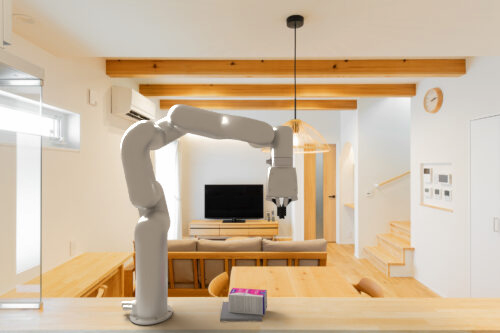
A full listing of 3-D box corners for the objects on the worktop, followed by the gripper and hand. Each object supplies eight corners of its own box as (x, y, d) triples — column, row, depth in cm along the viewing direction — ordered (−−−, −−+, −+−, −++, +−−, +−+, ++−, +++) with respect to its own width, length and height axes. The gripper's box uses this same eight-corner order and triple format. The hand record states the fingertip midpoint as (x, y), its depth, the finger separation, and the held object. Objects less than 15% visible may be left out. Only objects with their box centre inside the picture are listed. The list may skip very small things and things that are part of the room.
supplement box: (264, 296, 94) (227, 294, 96) (265, 315, 94) (228, 313, 96) (266, 288, 100) (232, 287, 102) (267, 307, 100) (232, 305, 102)
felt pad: (220, 321, 92) (220, 318, 92) (222, 304, 104) (222, 301, 104) (262, 321, 92) (262, 318, 93) (259, 303, 104) (260, 301, 104)
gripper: (259, 162, 100) (259, 220, 99) (306, 163, 100) (306, 220, 100) (258, 163, 107) (258, 216, 107) (301, 163, 107) (301, 216, 107)
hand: (281, 218), depth 103 cm, fingers closed
